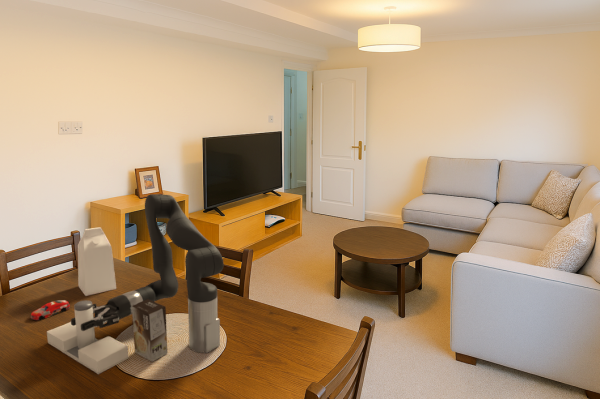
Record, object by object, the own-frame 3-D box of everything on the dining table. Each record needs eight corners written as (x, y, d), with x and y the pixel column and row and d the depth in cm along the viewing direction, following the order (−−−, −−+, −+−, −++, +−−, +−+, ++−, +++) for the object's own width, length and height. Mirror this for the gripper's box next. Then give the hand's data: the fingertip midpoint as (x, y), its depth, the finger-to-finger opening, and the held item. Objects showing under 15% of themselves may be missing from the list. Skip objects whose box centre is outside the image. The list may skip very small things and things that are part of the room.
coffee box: (168, 353, 136) (167, 306, 132) (151, 362, 131) (149, 314, 127) (150, 343, 141) (148, 298, 137) (133, 352, 135) (130, 305, 132)
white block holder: (128, 358, 132) (127, 346, 131) (98, 374, 124) (97, 361, 123) (77, 330, 147) (76, 319, 146) (47, 343, 139) (46, 331, 138)
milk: (108, 279, 189) (104, 223, 184) (116, 288, 181) (112, 229, 175) (78, 286, 182) (73, 227, 176) (85, 295, 173) (80, 234, 167)
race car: (34, 323, 151) (33, 313, 150) (27, 318, 154) (26, 308, 153) (72, 309, 162) (71, 300, 161) (65, 305, 165) (64, 296, 164)
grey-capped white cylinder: (98, 343, 136) (95, 303, 133) (83, 351, 132) (79, 309, 129) (89, 338, 139) (86, 299, 135) (74, 345, 134) (70, 304, 131)
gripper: (112, 289, 148) (62, 307, 134) (138, 300, 141) (88, 321, 127) (113, 309, 150) (64, 329, 136) (139, 321, 142) (90, 343, 128)
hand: (76, 325), depth 131 cm, fingers closed on grey-capped white cylinder, 5 cm apart
